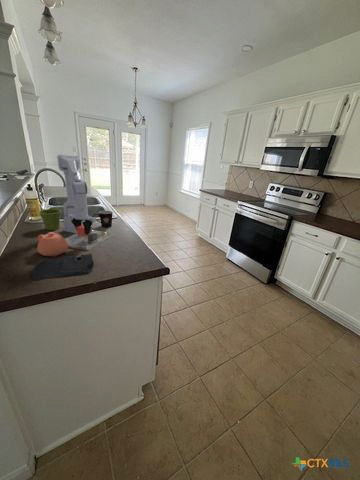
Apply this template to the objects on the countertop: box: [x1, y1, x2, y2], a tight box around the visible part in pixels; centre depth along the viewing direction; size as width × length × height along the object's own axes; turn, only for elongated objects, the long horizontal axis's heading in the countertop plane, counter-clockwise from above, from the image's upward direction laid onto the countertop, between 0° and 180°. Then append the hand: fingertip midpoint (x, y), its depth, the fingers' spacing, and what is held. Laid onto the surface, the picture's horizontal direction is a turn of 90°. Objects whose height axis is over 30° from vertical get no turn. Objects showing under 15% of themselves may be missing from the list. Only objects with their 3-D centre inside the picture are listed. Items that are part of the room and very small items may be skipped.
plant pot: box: [37, 208, 62, 231], centre depth 124 cm, size 12×12×11 cm
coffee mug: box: [92, 210, 113, 229], centre depth 137 cm, size 12×9×10 cm
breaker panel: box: [64, 229, 114, 252], centre depth 113 cm, size 18×24×2 cm
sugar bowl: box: [37, 231, 69, 257], centre depth 94 cm, size 12×14×10 cm
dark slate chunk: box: [31, 253, 95, 281], centre depth 83 cm, size 15×22×5 cm
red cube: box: [76, 224, 90, 237], centre depth 102 cm, size 4×4×4 cm
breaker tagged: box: [88, 232, 97, 241], centre depth 110 cm, size 3×4×4 cm
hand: (83, 233), depth 103 cm, fingers closed on red cube, 4 cm apart
